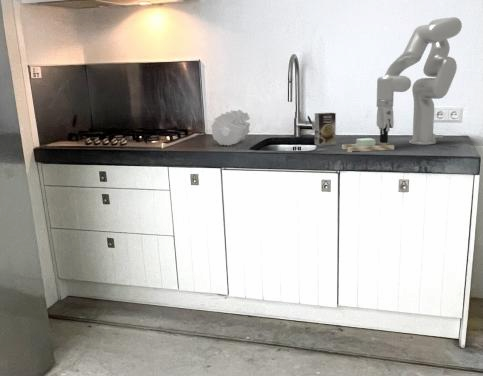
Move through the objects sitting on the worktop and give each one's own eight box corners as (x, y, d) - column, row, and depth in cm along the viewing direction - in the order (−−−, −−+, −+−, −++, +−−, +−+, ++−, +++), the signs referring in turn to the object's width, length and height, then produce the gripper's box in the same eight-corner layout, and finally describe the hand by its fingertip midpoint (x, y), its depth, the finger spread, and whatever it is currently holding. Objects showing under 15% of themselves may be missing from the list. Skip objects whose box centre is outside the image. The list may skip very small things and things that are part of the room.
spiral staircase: (218, 154, 269) (231, 144, 292) (247, 140, 263) (257, 131, 286) (202, 123, 266) (216, 116, 290) (230, 108, 260) (242, 102, 284)
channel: (385, 146, 248) (386, 142, 248) (394, 149, 239) (394, 145, 238) (341, 148, 246) (342, 144, 246) (348, 152, 237) (348, 147, 236)
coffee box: (319, 146, 257) (319, 114, 253) (314, 144, 263) (314, 113, 259) (336, 144, 259) (336, 112, 256) (330, 143, 266) (330, 111, 262)
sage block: (370, 148, 246) (370, 138, 245) (375, 150, 240) (375, 139, 239) (356, 149, 245) (356, 138, 244) (361, 151, 239) (361, 140, 238)
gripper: (399, 104, 231) (397, 144, 236) (386, 102, 246) (385, 140, 250) (383, 105, 231) (381, 145, 235) (371, 103, 245) (370, 140, 249)
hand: (383, 142), depth 242 cm, fingers closed
